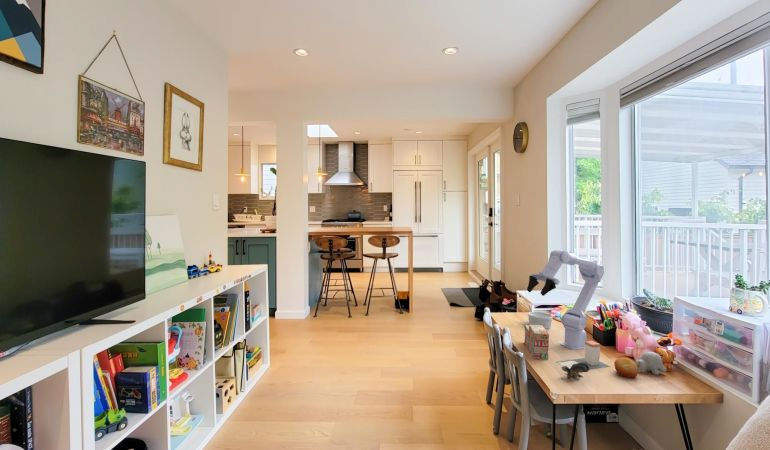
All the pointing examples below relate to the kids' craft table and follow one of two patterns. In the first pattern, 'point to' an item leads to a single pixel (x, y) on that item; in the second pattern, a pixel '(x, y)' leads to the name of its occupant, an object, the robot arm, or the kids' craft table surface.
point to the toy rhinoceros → (650, 363)
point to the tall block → (592, 352)
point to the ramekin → (540, 319)
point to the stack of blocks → (537, 341)
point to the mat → (575, 361)
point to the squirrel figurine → (575, 370)
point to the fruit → (626, 367)
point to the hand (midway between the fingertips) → (535, 292)
